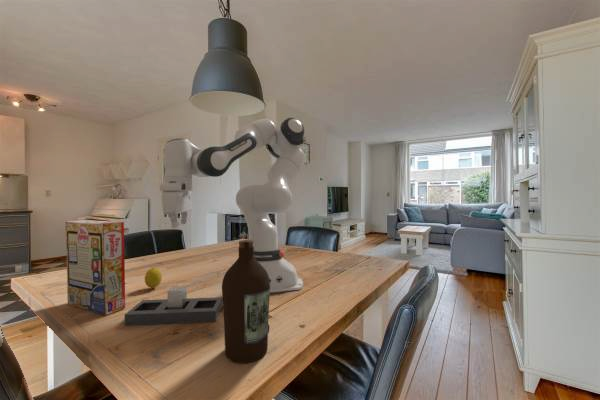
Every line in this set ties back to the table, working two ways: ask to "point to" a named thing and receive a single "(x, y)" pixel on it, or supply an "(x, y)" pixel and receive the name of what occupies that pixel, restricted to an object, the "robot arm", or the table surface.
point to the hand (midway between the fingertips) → (179, 225)
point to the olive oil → (246, 307)
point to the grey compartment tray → (174, 312)
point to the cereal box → (95, 265)
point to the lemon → (153, 278)
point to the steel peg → (177, 297)
